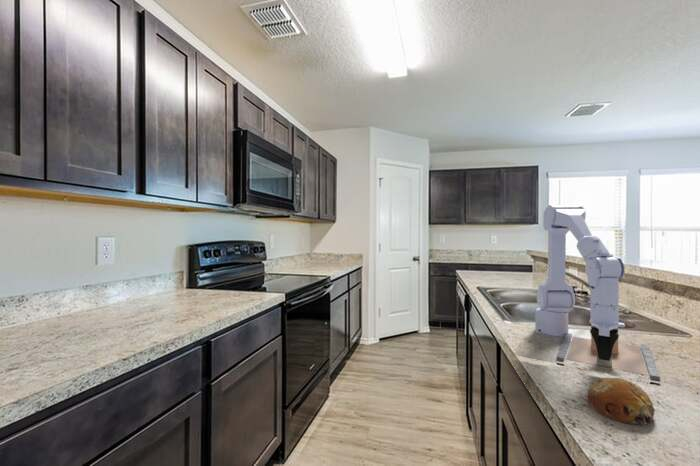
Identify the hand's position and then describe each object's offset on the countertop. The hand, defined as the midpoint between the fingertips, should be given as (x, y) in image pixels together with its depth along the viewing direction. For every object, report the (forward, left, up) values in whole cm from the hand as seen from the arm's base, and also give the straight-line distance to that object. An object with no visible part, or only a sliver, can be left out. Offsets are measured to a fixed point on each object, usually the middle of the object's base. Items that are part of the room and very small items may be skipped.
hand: (604, 357), depth 84 cm
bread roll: (+3, -23, -3) cm, 24 cm away
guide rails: (0, +9, -3) cm, 9 cm away
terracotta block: (0, +14, -2) cm, 14 cm away
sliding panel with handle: (0, +10, -3) cm, 10 cm away
